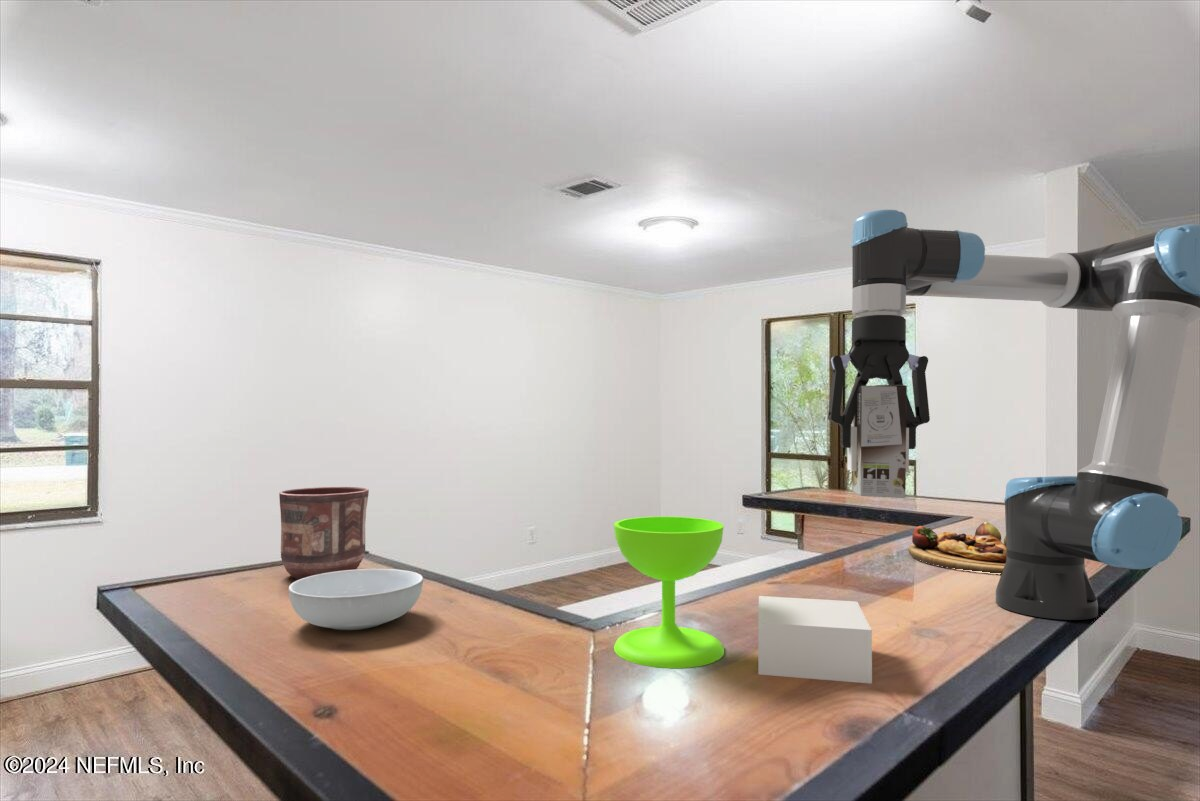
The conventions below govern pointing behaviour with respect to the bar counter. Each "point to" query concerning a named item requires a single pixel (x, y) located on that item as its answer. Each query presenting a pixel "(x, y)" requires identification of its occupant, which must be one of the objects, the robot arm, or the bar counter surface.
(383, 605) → the serving bowl
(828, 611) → the plinth block
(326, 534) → the pottery
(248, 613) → the bar counter surface
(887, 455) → the coffee box
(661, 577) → the wineglass
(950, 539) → the wooden plate with food
